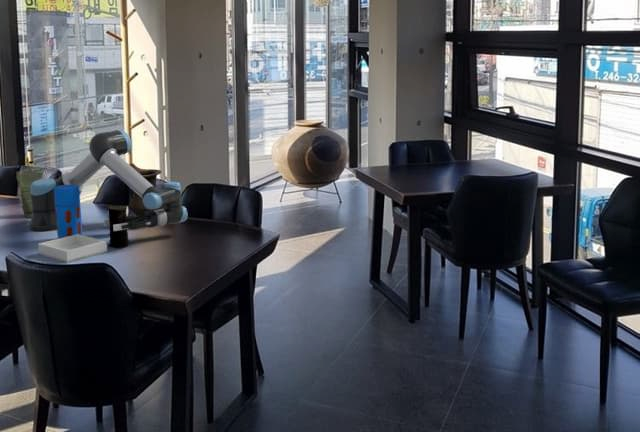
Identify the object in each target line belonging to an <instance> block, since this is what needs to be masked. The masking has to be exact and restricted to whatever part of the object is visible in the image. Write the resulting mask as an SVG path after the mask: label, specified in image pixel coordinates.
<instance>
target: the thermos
mask: <svg viewBox="0 0 640 432" xmlns="http://www.w3.org/2000/svg"><path fill="white" fill-rule="evenodd" d="M54 196H55V209H56V221H57V229H56V230H57V231H56V232H57V239H60V238H64V237H68V236H72V235H76V234H79V235H83V222H82V221H83V220H82V209H81V208H82V207H81V194H80V193H79V186H78V185H60V186H56V187H54Z"/></svg>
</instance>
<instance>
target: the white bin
mask: <svg viewBox="0 0 640 432" xmlns="http://www.w3.org/2000/svg"><path fill="white" fill-rule="evenodd" d="M107 246H108V245H107V240H103V239H99V238H95V237H91V236H86V235H83V234H82V235H79V234H76V235H72V236H68V237H64V238H60V239H58V238H57V239H51V240H48V241H44V242H39V243H37V247H38V255H39V254H40V255H39V256H41V255H43V256H42V257H45V256H46V257H45V258H48V257H50V258H49V259H52V258H53V260H55V259H56V261H59V262H62V261H63V263H67V264H69V262H70V263H73V262H76V260H77V261H79V260H80V261H81V260H84V259H87V258H91V257H95V256H99V255H103V254H105V253H108V247H107ZM72 261H73V262H72Z"/></svg>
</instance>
